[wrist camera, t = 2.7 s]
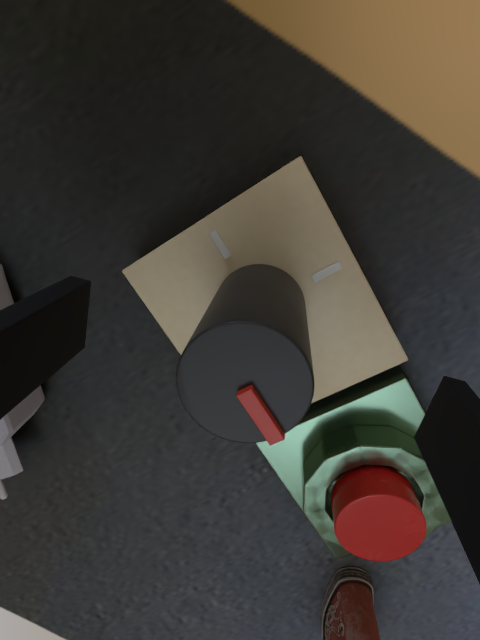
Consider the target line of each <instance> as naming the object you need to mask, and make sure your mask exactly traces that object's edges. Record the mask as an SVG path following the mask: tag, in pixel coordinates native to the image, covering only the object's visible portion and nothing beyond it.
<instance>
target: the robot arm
mask: <svg viewBox="0 0 480 640" xmlns="http://www.w3.org/2000/svg"><path fill="white" fill-rule="evenodd" d="M90 287H91V281H88V280H84V279H81V278H77V277H73V276H70V277H68V278H66V279H64V280H62V281H59V282H57V283H55V284H53V285H51V286H49V287H47V288H45V289H43V290H41V291H39V292H37V293H35V294H33V295H31V296H28V297H26V298H24V299H22V300H20V301H18V302H16V303H14V304H12V305H10V306H8V307H6V308H4V309H2V310H0V420H1V419H2V418H3V417H4V416H5V415H6V414H8V413H9V412H10V411H11V410H12V409H13V408H15V407H16V406H17V405H18V404H19V403H20V402H21V401H23V400H24V399H25V398H26V397H27V396H28V395H30V394H31V393H32V392H33V391H34V390H35V389H37V388H38V387H39V386H40V385H41V384H42V383H44V382H45V381H46V380H47V379H48V378H49V377H51V376H52V375H53V374H54V373H55V372H56V371H58V370H59V369H60V368H61V367H62V366H63V365H65V364H66V363H67V362H68V361H69V360H70V359H72V358H73V357H74V356H75V355H76V354H77V353H79V352H80V351H81V350H82V349H83V348H84V347H85V338H86V327H87V317H88V307H89V297H90ZM414 439H415V441H416V443H417V446H418V448H419V450H420V452H421V454H422V457H423V459H424V461H425V463H426V466H427V468H428V470H429V472H430V475H431V477H432V479H433V481H434V483H435V486H436V488H437V490H438V492H439V495H440V497H441V499H442V501H443V503H444V506H445V508H446V510H447V512H448V515H449V517H450V519H451V521H452V523H453V526H454V528H455V530H456V532H457V535H458V537H459V539H460V541H461V544H462V546H463V548H464V550H465V552H466V555H467V557H468V559H469V561H470V564H471V566H472V568H473V570H474V572H475V575H476V577H477V579H478V581H479V584H480V399H479V398H478V397H477V395H476V394H475V393H474V392H473V390H472V389H471V388H470V387H469V385H468V384H467V383H466V382H465V381H462V380H458V379H454V378H451V377H447V376H444V377H443V379H442V381H441V383H440V385H439V387H438V389H437V391H436V393H435V395H434V397H433V399H432V401H431V403H430V405H429V407H428V409H427V411H426V413H425V416H424V418H423V420H422V422H421V424H420V426H419V428H418V430H417V432H416V434H415V436H414Z"/></svg>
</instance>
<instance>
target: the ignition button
mask: <svg viewBox="0 0 480 640" xmlns="http://www.w3.org/2000/svg"><path fill="white" fill-rule="evenodd" d="M331 508H332V516H333V524H334V531H335V535H336V537H337V539H338V541H339V543H340V544H341V545H342V546H343V547H344V548H345V549H346V550H347V551H348V552H350V553H352V554H353V555H355V556H357V557H360V558H363V559H366V560H372V561H390V560H395V559H399V558H402V557H404V556H406V555H409V554H410V553H412V552H413V551H414V550H416V549H417V548H418V547H419V546H420V545H421V543H422V542H423V540H424V538H425V535H426V529H427V525H426V520H425V517H424V514H423V512H422V509H421V506H420V504H419V501H418V499H417V496H416V493H415V491H414V488H413V486H412V484H411V483H410V482H409V480H408V479H407V478H406V477H405V476H403V475H402V474H401V473H399V472H397V471H395V470H393V469H391V468H388V467H383V466H362V467H358V468H355V469H352V470H350V471H348V472H347V473H345V474H344V475H342V476H341V477H340V478H339V479H338V480H337V481H336V483H335V484H334V486H333V488H332V491H331Z"/></svg>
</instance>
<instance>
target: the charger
mask: <svg viewBox="0 0 480 640" xmlns="http://www.w3.org/2000/svg"><path fill="white" fill-rule="evenodd" d="M12 304H14V301H13V298H12V295H11V292H10V289H9V286H8V283H7V280H6V276H5V273H4V270H3V267H2V264H0V310H2V309H4V308H6V307H8V306H10V305H12ZM44 400H45V397H44V394H43V391H42V388H41V385H40V386H39V387H38V388H37V389H35V390H34V391H33V392H32V393H31V394H30V395H28V396H27V397H26V398H25V399H24V400H23V401H21V402H20V403H19V404H18V405H17V406H16V407H15V408H13V409H12V410H11V411H10V412H9V413H8V414H6V415H5V416H4V417H3V418H2V419H1V420H0V499H6V498H7V497H8V494H7V491H6V489H5V486H4V484H3V481H2V479H4V478H7V477H11V476H14V475H16V474H18V473H20V472H22V471H23V467H22V464H21V461H20V458H19V455H18V453H17V450H16V447H15V445H14V442H13V439H12V437H11V436H12V435H13V434H14V433H15V432H16V431H17V430H19V429H20V428H21V427H22V426H23V425H24V424H25V423H26V422H27V421H28V420H29V419H30V418H31V417H32V416H33V415H34V414H35V412H36V411H37V410H38V408H39V407H40V405H41V404H42V403H43V401H44Z"/></svg>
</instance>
